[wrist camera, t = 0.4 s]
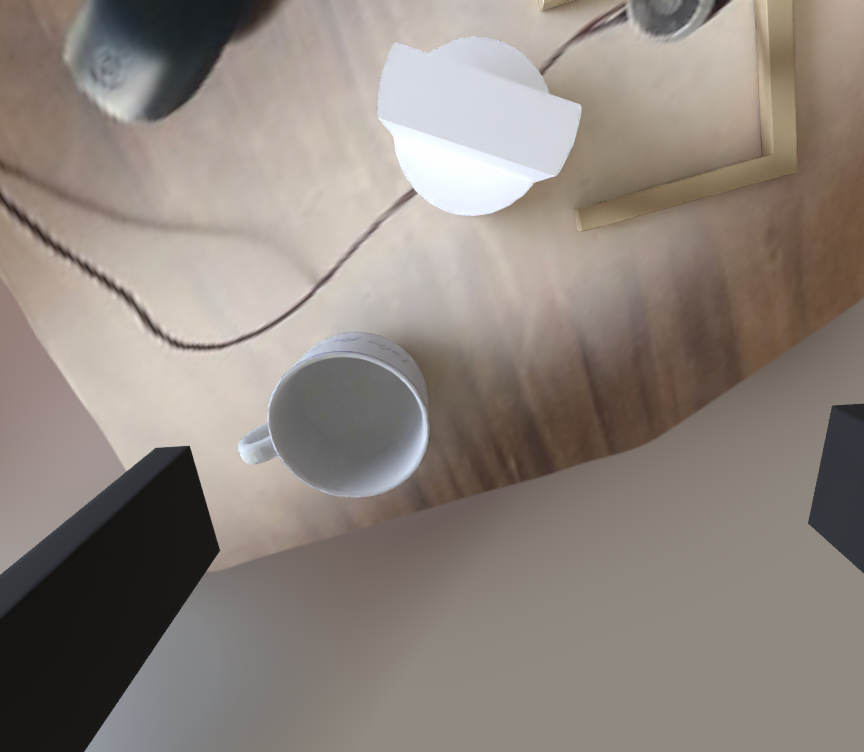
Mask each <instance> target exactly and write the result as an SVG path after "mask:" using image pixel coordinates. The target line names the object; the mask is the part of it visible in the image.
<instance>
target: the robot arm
mask: <svg viewBox="0 0 864 752" xmlns="http://www.w3.org/2000/svg"><path fill="white" fill-rule="evenodd" d="M808 524H810V525H811V526H812V527H813V528H814V529H815V530H816V531H817V532H819V534H821V535H822V536H823V537H824V538H825V539H826V540H827V541H828V542H829V543H831V544H832V545H833V546H834V547H835V548H836V549H838V551H839V552H841V553H842V554H843V555H844V556H845V557H846V558H847V559H849V561H851V562H852V563H853V564H854V565H855V566H856V567H857V568H858V569H860V570H861V571H862V572H863V573H864V404H853V405H835V406H832V409H831V414H830V419H829V424H828V429H827V434H826V439H825V444H824V448H823V453H822V458H821V463H820V468H819V473H818V478H817V482H816V487H815V492H814V497H813V502H812V507H811V512H810V517H809V522H808ZM219 551H220V549H219V546H218V542H217V539H216V535H215V532H214V528H213V525H212V521H211V518H210V514H209V511H208V508H207V504H206V501H205V497H204V494H203V490H202V487H201V483H200V480H199V476H198V473H197V469H196V466H195V463H194V459H193V456H192V452H191V449H190V446H179V447H163V448H155V449H154V450H153V451H151V452H150V453H149V454H148V455H146V456H145V457H144V458H143V459H142V460H140V461H139V462H138V463H137V464H135V465H134V466H133V467H132V468H131V469H129V470H128V471H127V472H126V473H124V474H123V475H122V476H121V477H120V478H119V479H117V480H116V481H115V482H113V483H112V484H111V485H110V486H108V487H107V488H106V489H105V490H104V491H102V492H101V493H100V494H99V495H97V496H96V497H95V498H94V499H93V500H91V501H90V502H89V503H88V504H86V505H85V506H84V507H83V508H82V509H81V510H79V511H78V512H77V513H76V514H74V515H73V516H72V517H71V518H69V519H68V520H67V521H66V522H64V523H63V524H62V525H61V526H59V527H58V528H57V529H56V530H55V531H53V532H52V533H51V534H50V535H48V536H47V537H46V538H45V539H44V540H42V541H41V542H40V543H39V544H37V545H36V546H35V547H34V548H33V549H32V550H30V551H29V552H28V553H27V554H25V555H24V556H23V557H21V558H20V559H19V560H18V561H17V562H16V563H14V564H13V565H12V566H10V567H9V568H8V569H7V570H6V571H4V572H3V573H2V574H1V575H0V752H84V751H85V750H86V748H87V747H88V745H89V744H90V742H91V741H92V739H93V738H94V736H95V735H96V733H97V732H98V730H99V729H100V728H101V726H102V724H103V723H104V721H105V720H106V719H107V717H108V716H109V714H110V713H111V711H112V710H113V708H114V707H115V705H116V704H117V702H118V701H119V699H120V698H121V696H122V695H123V693H124V692H125V691H126V689H127V688H128V686H129V685H130V683H131V682H132V680H133V679H134V677H135V676H136V674H137V673H138V671H139V670H140V668H141V667H142V665H143V664H144V662H145V661H146V659H147V658H148V656H149V655H150V654H151V652H152V651H153V649H154V648H155V646H156V645H157V643H158V642H159V640H160V639H161V637H162V636H163V634H164V633H165V631H166V630H167V628H168V627H169V625H170V624H171V622H172V620H173V619H174V618H175V617H176V615H177V614H178V612H179V611H180V609H181V607H182V606H183V605H184V603H185V602H186V600H187V599H188V597H189V596H190V594H191V593H192V591H193V590H194V588H195V587H196V585H197V584H198V582H199V581H200V579H201V578H202V577H203V575H204V574H205V572H206V571H207V569H208V568H209V566H210V565H211V563H212V562H213V560H214V559H215V557H216V556H217V554H218V553H219Z"/></svg>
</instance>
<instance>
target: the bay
mask: <svg viewBox="0 0 864 752" xmlns="http://www.w3.org/2000/svg"><path fill="white" fill-rule="evenodd" d="M571 1H574V0H539V6H540V11H544V10H547V9H550V8H553V7H556V6H559V5H562V4H565V3H568V2H571ZM755 20H756V41H757V61H758V82H759V102H760V122H761V143H762V156H761V157H757V158H754V159H750V160H747V161H743V162H740V163H736V164H732V165H729V166H725V167H722V168H718V169H715V170H711V171H708V172H704V173H701V174H697V175H694V176H690V177H686V178H683V179H679V180H676V181H672V182H669V183H665V184H662V185H658V186H655V187H651V188H647V189H644V190H640V191H637V192H633V193H630V194H626V195H623V196H619V197H616V198H612V199H609V200H605V201H601V202H598V203H594V204H591V205H587V206H584V207H580V208H577V209H574V211H575V217H576V223H577V229H578V231H586V230H589V229H593V228H596V227H600V226H604V225H607V224H611V223H615V222H618V221H622V220H625V219H629V218H633V217H636V216H640V215H644V214H647V213H651V212H654V211H658V210H662V209H665V208H669V207H673V206H676V205H680V204H683V203H687V202H691V201H694V200H698V199H702V198H705V197H709V196H712V195H716V194H720V193H723V192H727V191H731V190H734V189H738V188H741V187H745V186H749V185H752V184H756V183H760V182H763V181H767V180H770V179H774V178H778V177H781V176H785V175H789V174H792V173H796V172H798V160H797V128H796V92H795V55H794V18H793V0H755Z"/></svg>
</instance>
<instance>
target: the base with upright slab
mask: <svg viewBox="0 0 864 752" xmlns="http://www.w3.org/2000/svg"><path fill="white" fill-rule="evenodd" d="M377 115H378V119H379V120H380V121H381V122H382V123H383V124H384V126H385V127H386V128H387V129H388V130H389V131H390V133H391V134H392V135H393V136H394V142H395V151H396V155H397V157H398V160H399V163H400V165H401V168H402V171H403V173H404V175H405V176H406V178H407V179H408V181H409V182H410V184H411V185H412V186H413V188H414V189H415V191H416V192H417V193H419V194H420V195H421V196H422V197H423V198H424V199H426V200H427V201H428V202H429V203H430V204H432V205H434V206H436V207H438V208H440V209H442V210H444V211H446V212H448V213H453V214H459V215H464V216H476V215H485V214H490V213H493V212H495V211H498V210H500V209H503V208H506V207H508V206H509V205H511V204H512V203H513V202H515V201H516V200H518V199H519V198H520V197H522V196H523V195H524V194H525V193H526V192H527V191H528V190H529V189H530V187H531V186H532V185H533V184H534V183H535V182H537V181H541V180H544V179H548V178H551V177H554V176H556V175H557V174H558V173H559V171H560V170H561V169H562V167H563V165H564V163H565V161H566V159H567V157H568V155H569V153H570V151H571V149H572V147H573V145H574V142H575V138H576V134H577V130H578V125H579V121H580V117H581V104H578V103H575V102H572V101H569V100H566V99H563V98H560V97H557V96H554V95H551V94H550V93H549V90H548V86H547V85H546V83H545V81H544V79H543V78H542V76H541V74H540V72H539V71H538V69H537V67H536V66H535V65H534V64H533V63H532V62H531V61H530V60H529V59H528V58H527V57H526V56H525V55H524V54H523V53H522V52H521V51H520V50H518V49H516V48H514V47H512V46H510V45H508V44H506V43H504V42H502V41H501V40H496V39H490V38H484V37H479V36H478V37H470V38H463V39H456V40H454V41H451V42H449V43H447V44H445V45H443V46H440V47H438V48H436V49H434V50H433V51H432V52H431V53H427V52H424V51H421V50H418V49H415V48H412V47H409V46H406V45H403V44H400V43H397V42H395V43H394V45H393V46H392V48H391V49H390V52H389V55H388V58H387V60H386V63H385V66H384V69H383V72H382V74H381V77H380V83H379V92H378V101H377Z"/></svg>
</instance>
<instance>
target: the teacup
mask: <svg viewBox="0 0 864 752" xmlns="http://www.w3.org/2000/svg"><path fill="white" fill-rule="evenodd" d="M267 421H268V422H267V423H265V424H263V425H261V426H260V427H258V428H256V429H254V430H252V431H251V432H250V433H248V434H247V435H246V436H245V437H244V438H242V439H241V441H240V443H239V446H238V450H239V454H240V455H241V457H242V459H243V460H244V461H245V462H246V463H248V464H259V463H262V462H265V461H268V460H270V459H272V458H274V457H276V456H279V458H280V459H281V461H282V462H283V463H284V464H285V465H286V467H287V468H288V469H289V470H290V471H292V472H293V473H294V475H295V476H296V477H298V478H299V479H300V480H301V481H303V482H304V483H306V484H307V485H309V486H311V487H313V488H315V489H317V490H319V491H322V492H325V493H328V494H332V495H335V496H342V497H361V498H362V497H369V496H374V495H378V494H381V493H385V492H387V491H389V490H391V489H393V488H395V487H397V486H399V485H400V484H402V483H403V482H404V481H405V480H407V479H408V478H409V477H410V476H411V475H412V474H413V473H414V472H415V471H416V469H417V468H418V467H419V465H420V464H421V462H422V460H423V458H424V457H425V454H426V451H427V448H428V444H429V439H430V420H429V400H428V391H427V386H426V383H425V379H424V377H423V374H422V372H421V370H420V368H419V367H418V365H417V363H416V362H415V361H414V359H413V358H412V357H411V356H410V355H409V354H408V353H407V352H406V351H405V350H404V349H403V348H402V347H400V346H399V345H397V344H396V343H394V342H392V341H391V340H389V339H386V338H384V337H382V336H379V335H375V334H371V333H363V332H350V333H343V334H338V335H335V336H332V337H329V338H327V339H325V340H323V341H321V342H319V343H318V344H316V345H315V346H314V347H312V348H311V349H310V350H309V351H307V352H306V353H305V354H304V355H303V356H302V357H301V358H300V359H299V361H298V362H297V363H296V364H295V365H294V366H293V367H292V368H291V369H290V370H289V371H288V372H287V373H285V374H284V375H283V377H282V378H281V379H280V381H279V382H278V384H277V386H276V387H275V389H274V391H273V393H272V395H271V398H270V401H269V406H268V410H267Z"/></svg>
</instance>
